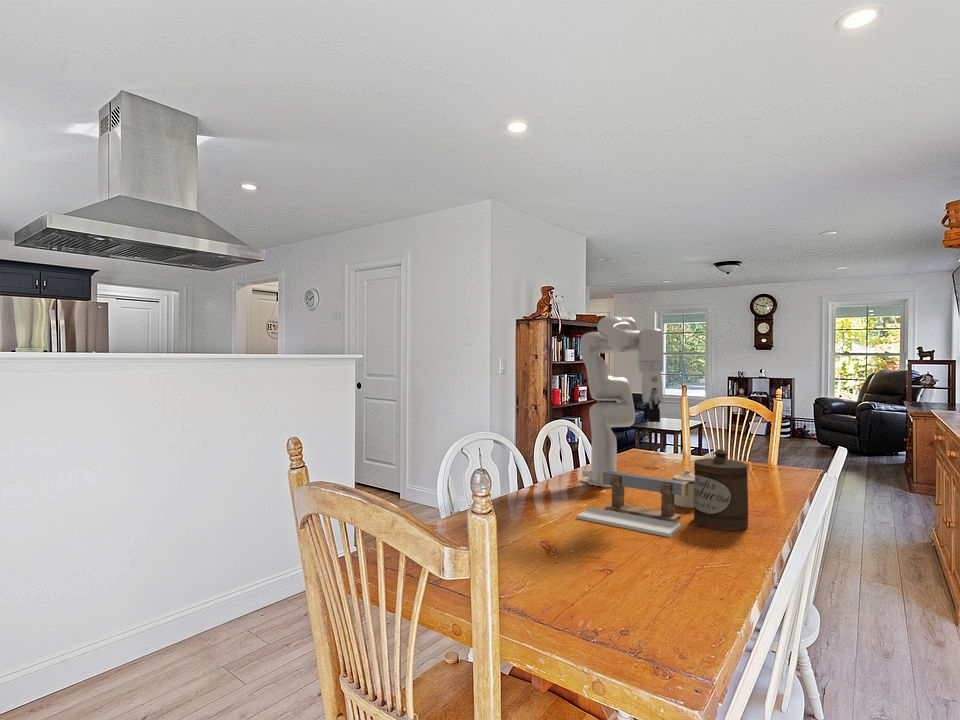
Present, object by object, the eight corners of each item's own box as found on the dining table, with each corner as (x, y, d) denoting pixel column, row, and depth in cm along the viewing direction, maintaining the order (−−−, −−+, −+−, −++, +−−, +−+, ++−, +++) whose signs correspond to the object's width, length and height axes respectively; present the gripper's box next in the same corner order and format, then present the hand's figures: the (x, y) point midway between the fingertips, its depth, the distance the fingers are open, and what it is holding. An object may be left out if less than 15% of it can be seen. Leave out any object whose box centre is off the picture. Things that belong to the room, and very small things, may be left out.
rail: (599, 482, 177) (599, 471, 177) (604, 480, 180) (604, 470, 180) (685, 496, 161) (685, 484, 161) (688, 493, 164) (688, 482, 163)
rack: (605, 509, 174) (605, 475, 174) (612, 505, 179) (613, 472, 179) (674, 522, 161) (675, 485, 161) (680, 517, 166) (681, 482, 166)
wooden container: (682, 519, 165) (683, 447, 165) (717, 513, 171) (718, 444, 171) (723, 534, 151) (724, 455, 151) (759, 527, 158) (760, 452, 157)
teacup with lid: (699, 510, 175) (699, 474, 175) (670, 506, 179) (670, 471, 179) (703, 501, 185) (704, 467, 185) (676, 498, 190) (676, 464, 190)
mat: (576, 518, 164) (576, 515, 164) (592, 510, 173) (592, 507, 173) (669, 537, 148) (669, 533, 148) (681, 527, 157) (681, 523, 157)
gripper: (669, 366, 164) (669, 423, 164) (657, 367, 182) (657, 418, 181) (643, 366, 165) (644, 422, 165) (634, 367, 182) (634, 418, 182)
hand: (651, 420), depth 173 cm, fingers open, 9 cm apart
